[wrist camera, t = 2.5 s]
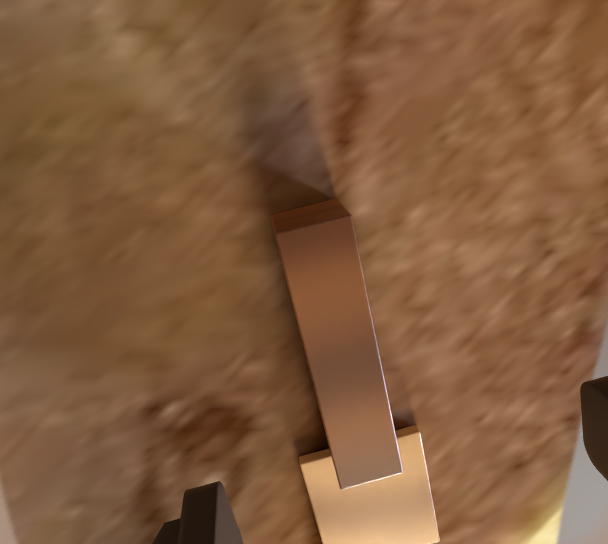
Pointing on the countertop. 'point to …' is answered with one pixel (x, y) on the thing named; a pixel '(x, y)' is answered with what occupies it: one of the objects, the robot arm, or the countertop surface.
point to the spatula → (350, 391)
